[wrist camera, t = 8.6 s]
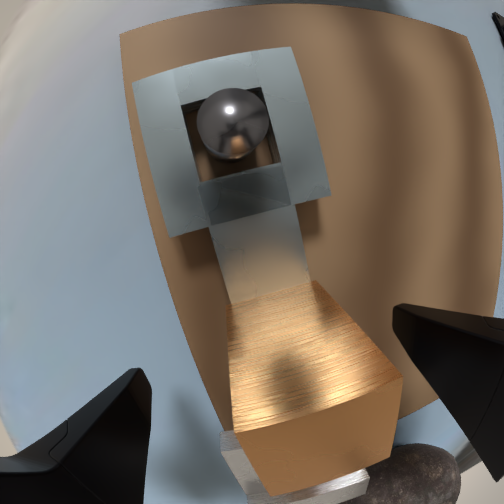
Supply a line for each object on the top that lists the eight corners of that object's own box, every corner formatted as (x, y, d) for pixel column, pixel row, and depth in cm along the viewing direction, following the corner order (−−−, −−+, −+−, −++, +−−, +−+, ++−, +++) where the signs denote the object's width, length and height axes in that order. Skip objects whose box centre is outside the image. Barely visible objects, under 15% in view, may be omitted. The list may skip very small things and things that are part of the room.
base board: (457, 40, 10) (466, 36, 9) (471, 366, 16) (478, 372, 15) (126, 43, 9) (119, 34, 8) (241, 456, 15) (242, 467, 14)
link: (140, 92, 8) (48, -3, 2) (283, 59, 9) (356, -56, 2) (252, 435, 13) (269, 541, 6) (347, 406, 13) (397, 500, 7)
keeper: (340, 363, 12) (380, 428, 8) (341, 440, 14) (365, 493, 10) (218, 394, 12) (221, 471, 8) (249, 464, 14) (257, 522, 9)
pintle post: (248, 111, 9) (260, 83, 6) (258, 158, 10) (275, 147, 7) (200, 121, 9) (190, 95, 6) (209, 168, 10) (204, 161, 7)
